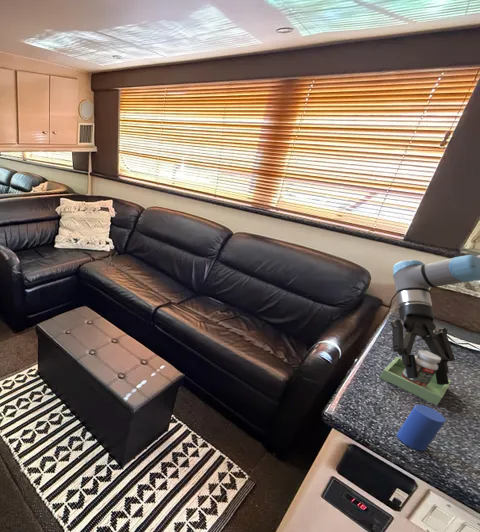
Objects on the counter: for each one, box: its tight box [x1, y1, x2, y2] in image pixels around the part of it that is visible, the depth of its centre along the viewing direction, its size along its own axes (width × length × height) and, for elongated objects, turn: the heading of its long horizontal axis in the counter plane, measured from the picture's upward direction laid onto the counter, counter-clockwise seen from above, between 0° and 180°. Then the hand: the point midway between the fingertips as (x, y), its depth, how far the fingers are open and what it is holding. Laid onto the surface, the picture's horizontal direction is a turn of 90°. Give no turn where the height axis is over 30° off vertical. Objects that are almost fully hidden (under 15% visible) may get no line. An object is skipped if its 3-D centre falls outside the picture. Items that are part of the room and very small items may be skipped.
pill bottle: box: [401, 349, 441, 387], centre depth 95 cm, size 6×6×10 cm
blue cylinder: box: [396, 404, 447, 452], centre depth 73 cm, size 5×5×9 cm
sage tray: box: [379, 356, 453, 406], centre depth 96 cm, size 13×15×3 cm
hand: (427, 380), depth 92 cm, fingers open, 7 cm apart
